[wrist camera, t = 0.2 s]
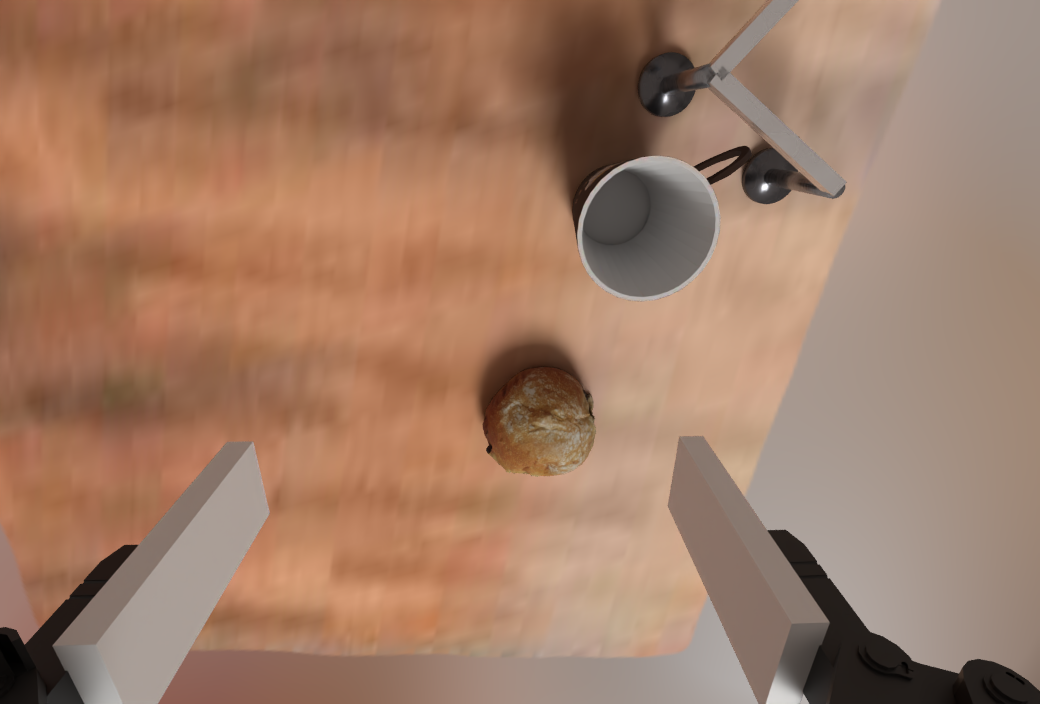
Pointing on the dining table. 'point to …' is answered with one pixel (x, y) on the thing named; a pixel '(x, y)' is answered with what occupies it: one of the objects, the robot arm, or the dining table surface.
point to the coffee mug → (649, 223)
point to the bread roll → (540, 423)
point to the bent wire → (743, 113)
